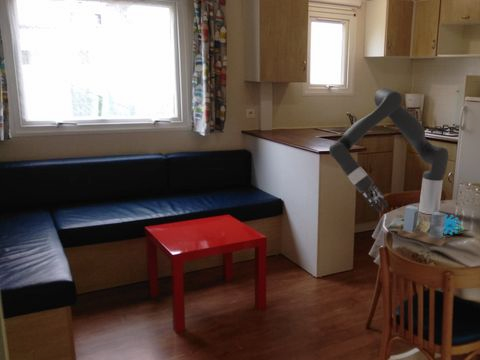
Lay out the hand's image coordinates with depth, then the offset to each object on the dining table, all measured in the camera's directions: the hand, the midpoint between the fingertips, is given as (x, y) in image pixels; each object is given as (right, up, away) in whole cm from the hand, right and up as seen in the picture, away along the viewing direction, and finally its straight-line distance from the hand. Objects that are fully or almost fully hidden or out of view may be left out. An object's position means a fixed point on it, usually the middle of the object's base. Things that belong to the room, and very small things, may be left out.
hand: (383, 208), depth 192 cm
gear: (+29, -11, 0) cm, 30 cm away
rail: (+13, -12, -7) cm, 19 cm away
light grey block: (+9, -9, -4) cm, 13 cm away
